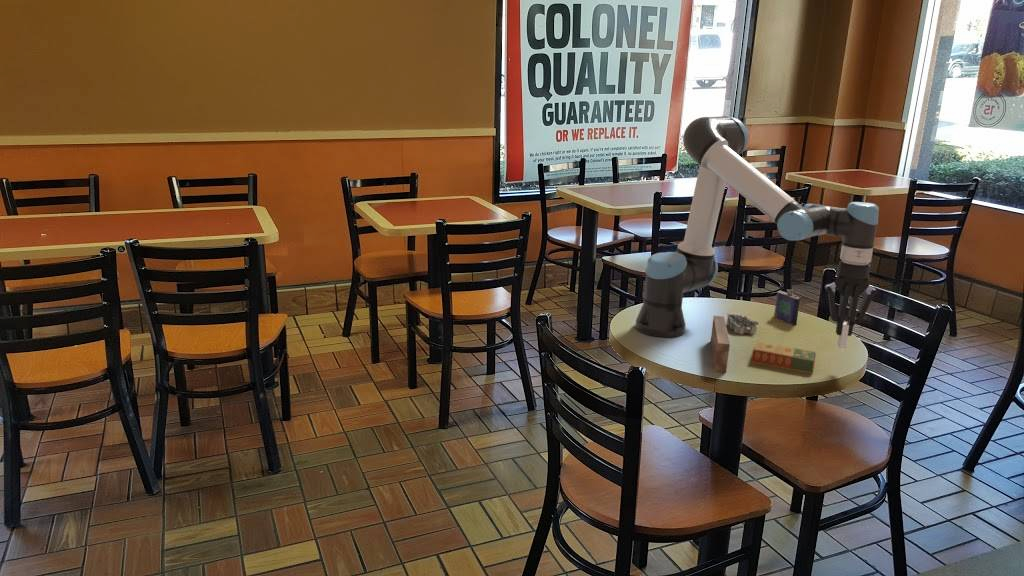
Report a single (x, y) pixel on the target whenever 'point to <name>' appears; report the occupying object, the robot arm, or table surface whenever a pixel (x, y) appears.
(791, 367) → the carton
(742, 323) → the egg carton
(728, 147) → the robot arm
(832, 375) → the table surface
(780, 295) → the flask
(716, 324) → the board
